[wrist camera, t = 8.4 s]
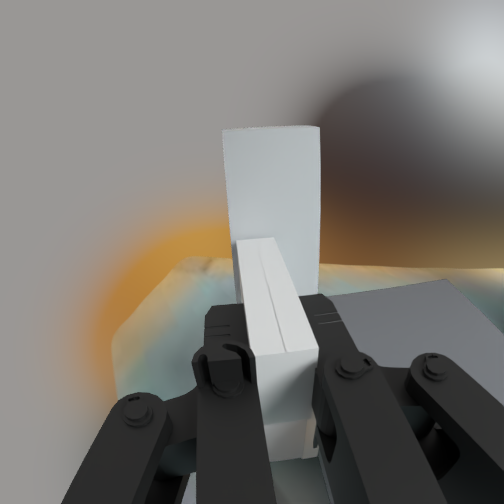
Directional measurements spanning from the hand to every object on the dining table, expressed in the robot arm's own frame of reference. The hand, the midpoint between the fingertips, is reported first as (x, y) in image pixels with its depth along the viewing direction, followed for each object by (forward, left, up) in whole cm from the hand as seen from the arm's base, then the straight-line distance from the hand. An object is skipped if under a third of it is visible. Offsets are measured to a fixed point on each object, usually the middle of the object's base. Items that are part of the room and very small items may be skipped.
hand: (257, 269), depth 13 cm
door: (-6, -1, -17) cm, 18 cm away
